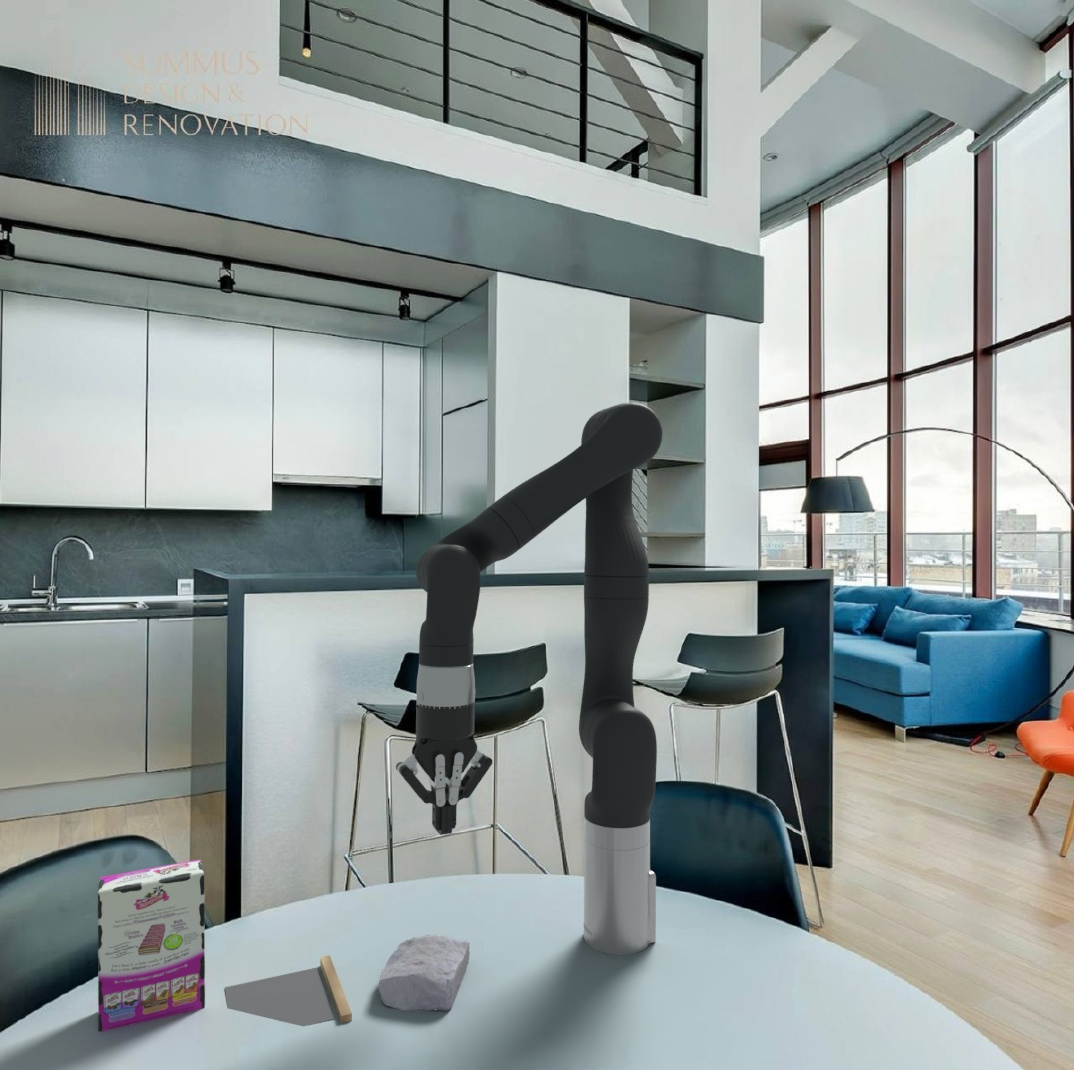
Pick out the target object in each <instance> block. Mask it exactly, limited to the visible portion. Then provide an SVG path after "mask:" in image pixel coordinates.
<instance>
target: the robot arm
mask: <svg viewBox="0 0 1074 1070" xmlns="http://www.w3.org/2000/svg"><path fill="white" fill-rule="evenodd" d="M662 440H663V427H662V423H661V421H660V418H659V416H658V415H657V414H656V413H655V411H653V410H652V409H651V408H650V407H648V406H646V405H645V404H642V403H638V402H623V403H622V402H621V403H618V404H615V405H613V406H610V407H608V408H603V409H601V410H599V411H596V412H595V413H593V415H591V416H590V417H589V418H588V420H587V421H586V423H585V425H584V427H583V429H582V434H581V441H580V442H581V443H580V445H579V446H578V447H577V448H576V449H574V450H573V451H572V452H571V453H569V454H567V455H566V456H565V457H563V458H562V459H561V460H559V461H557V462H556V463H554V464H552V465H551V466H549V467H547V468H545V469H544V470H542V471H540V472H538V473H537V474H535V475H533V476H532V477H530V478H529V479H526V480H525V481H524V482H522V483H520V484H519V485H518V486H516V487H514V488H512V489H511V490H510V491H508V492H507V493H505V494H504V495H502V496H501V497H500V498H499V499H497V500H496V501H495V502H493V503H492V504H490V505H489V506H488V507H487V508H486V509H484V510H483V511H482V512H480V513H479V514H478V515H477V516H476V517H475V518H474V519H472V520H470V521H469V522H468V523H466V524H464V525H462V526H461V527H459V528H457V529H456V530H454V531H453V532H450V533H449V534H447V535H446V536H444V537H443V538H441V539H440V540H438V541H437V542H434V544H433V545H430V546H429V548H427V549H425V551H424V552H423V553H422V554H421V555H420V557H419V559H418V561H417V564H416V568H415V575H416V577H415V578H416V580H417V582H418V585H419V586H420V588H421V589H422V590H423V591H424V592H425V593H426V609H425V610H426V612H425V616H426V617H425V620H424V621H423V622H422V624H421V626H420V631H419V643H418V645H419V646H418V671H417V678H416V703H415V705H416V707H415V708H416V712H415V713H416V716H415V718H416V719H415V742H414V744H413V746H412V748H411V755H410V756H409V757H408V758H406V759H405V760H404V761H400V762H397V764H396V765H395V769H396V771H397V772H398V774H399V775H400V776H401V778H403V780H404V781H405V782H406V783H407V784H408V786H409V787H410V788H411V789H412V791H414V793H415V794H416V796H417V797H418V798H419V799H420V800H421V801H422V802H423V803H425V805H426V804H431V808H432V809H431V812H432V813H431V815H432V816H431V825H432V826H433V828H434V830H435V831H436V832H437V833H438V834H439V835H440V836H442V835H443V836H444V835H449V834H452V833H453V829H456V826H457V805H458V803H459V801H461V800H463V799H469V798H470V797H471V795H472V794H473V792H474V791H475V790H476V788H477V787H478V785H479V783H480V782H481V781H482V780H483V778H484V777H485V775H486V773H487V772H488V771H489V770H490V767H492V765H493V759H492V758H491V757H489V756H488V755H487V754H486V753H484V752H483V753H482V752H481V751H480V750H478V743H477V742H476V740H475V714H476V713H475V709H476V707H475V704H476V703H475V702H476V701H475V700H476V699H475V697H476V693H477V692H476V684H475V683H476V679H475V678H476V677H475V670H474V645H475V644H474V641H475V640H474V627H475V621H476V619H477V618H476V617H477V611H478V606H479V601H480V593H481V572H483V571H484V570H486V569H487V568H488V567H489V566H492V564H494V563H496V562H499V561H500V562H501V561H503V560H506V559H508V558H510V557H511V556H513V555H514V554H515V553H518V552H519V550H521V549H522V548H523V547H524V546H526V545H527V544H528V543H530V541H532V540H533V539H535V538H536V537H538V536H539V535H540V534H541V533H542V532H544V531H545V530H546V529H548V527H550V526H551V525H552V524H554V523H555V522H556V521H557V520H558V519H559V518H561V517H562V516H563V515H565V514H566V513H568V512H569V511H570V510H571V509H574V507H575V506H576V505H578V504H579V503H581V502H583V500H585V529H584V537H585V538H584V567H583V568H584V569H583V570H584V571H583V574H584V575H583V577H584V579H583V606H584V607H583V609H584V617H583V618H584V623H583V624H584V625H583V627H584V629H583V630H584V658H585V659H584V660H585V663H584V678H583V686H582V688H583V689H582V694H581V695H582V696H581V701H580V702H581V704H580V710H579V711H580V712H579V720H578V735H579V739H580V743H581V745H582V747H583V749H584V750H585V751H586V753H587V754H588V755H589V756H590V758H592V772H591V773H592V777H591V790H590V791H589V792H588V793H587V794H586V796H585V798H584V803H583V804H584V805H583V806H584V815H583V817H584V819H583V821H584V827H583V828H584V829H583V831H584V832H583V837H584V838H583V839H584V840H583V843H584V844H583V846H584V849H583V850H584V852H583V855H584V857H583V858H584V859H583V861H584V863H583V869H584V870H583V871H584V872H583V874H584V875H583V878H584V879H583V881H584V882H583V939H584V942H585V944H586V945H587V946H588V947H590V948H591V949H593V950H594V951H597V952H600V953H603V954H607V955H614V956H628V955H629V956H630V955H634V954H638V953H640V952H643V951H644V950H645V949H647V947H648V946H649V945H650V944H651V943H655V942H656V939H657V936H656V935H657V930H656V928H657V926H656V925H657V923H656V922H657V904H656V902H657V896H656V895H657V889H656V888H657V876H656V873H655V872H654V871H653V870H652V869H651V807H652V805H653V803H654V800H655V796H656V795H655V794H656V786H657V785H656V782H657V760H658V759H657V756H658V751H657V750H658V749H657V747H658V744H657V741H658V740H657V733H656V730H655V727H654V725H653V722H652V720H651V719H650V718H649V717H648V716H647V714H645V713H644V712H643V711H641V710H640V709H638V708H636V707H635V699H634V679H633V678H634V676H633V675H634V663H635V657H636V653H637V649H638V646H639V643H640V639H641V637H642V634H643V631H644V628H645V625H646V620H647V617H648V612H649V611H648V610H649V602H650V601H649V600H650V598H649V595H650V594H649V593H650V591H649V590H650V589H649V588H650V584H649V583H650V576H649V575H650V573H649V572H650V570H649V569H650V567H649V559H648V554H647V551H646V547H645V544H644V540H643V538H642V535H641V532H640V530H639V527H638V523H637V521H636V518H635V514H634V513H635V512H634V508H633V497H632V496H633V476H634V470H635V469H637V468H640V467H642V466H644V465H645V464H647V463H649V462H650V461H651V460H652V459H653V458H654V457H655V456H656V454H657V453H658V451H659V449H660V448H661V445H662V442H663V441H662ZM417 764H418V765H419V766H420V767H421V769H422V771H423V772H424V773H425V774H426V776H427V777H428V782H429V783H428V784H429V789H430V790H429V789H428V790H427V788H426V787H425V786H424V784H422V782H421V781H420V779H419V778H418V777H417V776H416V775H417V774H418V773H419V769H418V767H417ZM469 764H470V767H469V769H467V771H466V768H467V767H468V765H469ZM465 771H466V772H465ZM464 772H465V774H464V775H463V776H462V774H463V773H464Z"/></svg>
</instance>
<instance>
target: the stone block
mask: <svg viewBox="0 0 1074 1070" xmlns="http://www.w3.org/2000/svg"><path fill="white" fill-rule="evenodd" d="M470 954H471V953H470V940H469V939H466V940H462V939H459V938H455V937H448V936H446V935H437V934H433V935H432V934H426V935H422V936H417V937H415V936H414V937H412V938H409V939H406V940H404V941H402V942H400V943H399V944H398V946H397V949H396V950H394V951H393V952H392V954H391V955H390V956H389V958H388V959H387V961H386V963H385V966H384V967H383V968H382V969H381V974H380V979H379V981H378V992H379V995H380V999H381V1001H382V1002H383V1004H384V1005H385V1006H387V1007H390V1008H393V1009H397V1010H400V1011H403V1010H404V1011H405V1012H406V1011H418V1010H417V1009H424V1010H423V1011H427V1010H433V1011H440V1010H443V1011H442V1012H448V1011H449V1010H451V1009H452V1006H453V1005H454V1003H455V999H456V996H457V994H458V991H459V989H460V986H461V983H462V981H463V978H464V975H465V974H466V973H465V972H466V971H467V968H468V964H469V961H470ZM450 1008H451V1009H450ZM435 1009H437V1010H435ZM444 1010H446V1011H444ZM447 1010H448V1011H447Z"/></svg>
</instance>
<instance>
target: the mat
mask: <svg viewBox="0 0 1074 1070" xmlns="http://www.w3.org/2000/svg"><path fill="white" fill-rule="evenodd" d="M224 992H225V1001H226V1009H229V1010H233V1011H237V1012H241V1013H246V1014H249V1015H252V1016H253V1015H254V1016H258V1017H261V1018H267V1019H271V1020H274V1021H278V1022H283V1023H286V1024H291V1025H296V1026H298V1027H299V1026H300V1027H307V1026H311V1025H316V1024H317V1025H318V1024H321V1023H325V1022H329V1021H334V1020H335V1017H334V1014H333V1012H332V1008H331V1006H330V1002H329V999H328V996H327V993H326V990H325V987H324V985H323V982H322V979H321V976H320V972H319V969H318V967H313V968H309V969H305V970H299V971H293V972H290V973H284V974H281V975H276V976H271V977H266V978H263V979H262V978H261V979H258V980H253V981H252V980H251V981H248V982H244V983H239V984H234V985H231V986H230V985H229V986H226V987H224Z"/></svg>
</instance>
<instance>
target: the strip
mask: <svg viewBox="0 0 1074 1070" xmlns="http://www.w3.org/2000/svg"><path fill="white" fill-rule="evenodd" d="M319 963H320V964H319V966H320V970H321V972H322V974H323V977H324V980H325V983H326V985H327V988H328V990H329V994H330V996H331V998H332V1002H333V1004H334V1007H335V1010H336V1013H337V1015H338V1019H339V1021H340V1023H341V1024H343V1023H347V1022H353V1021H352V1020H353V1015H352V1011H351V1008H350V1006H349V1005H350V1004H349V1003H348V1000H347V997H346V994H345V992H344V990H343V989H344V988H343V987H342V985H341V980H340V979H339V976H338V974H337V971H336V968H335V966H334V963H333V960H332V958H331V956H330V955H325V956H320V959H319Z"/></svg>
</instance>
